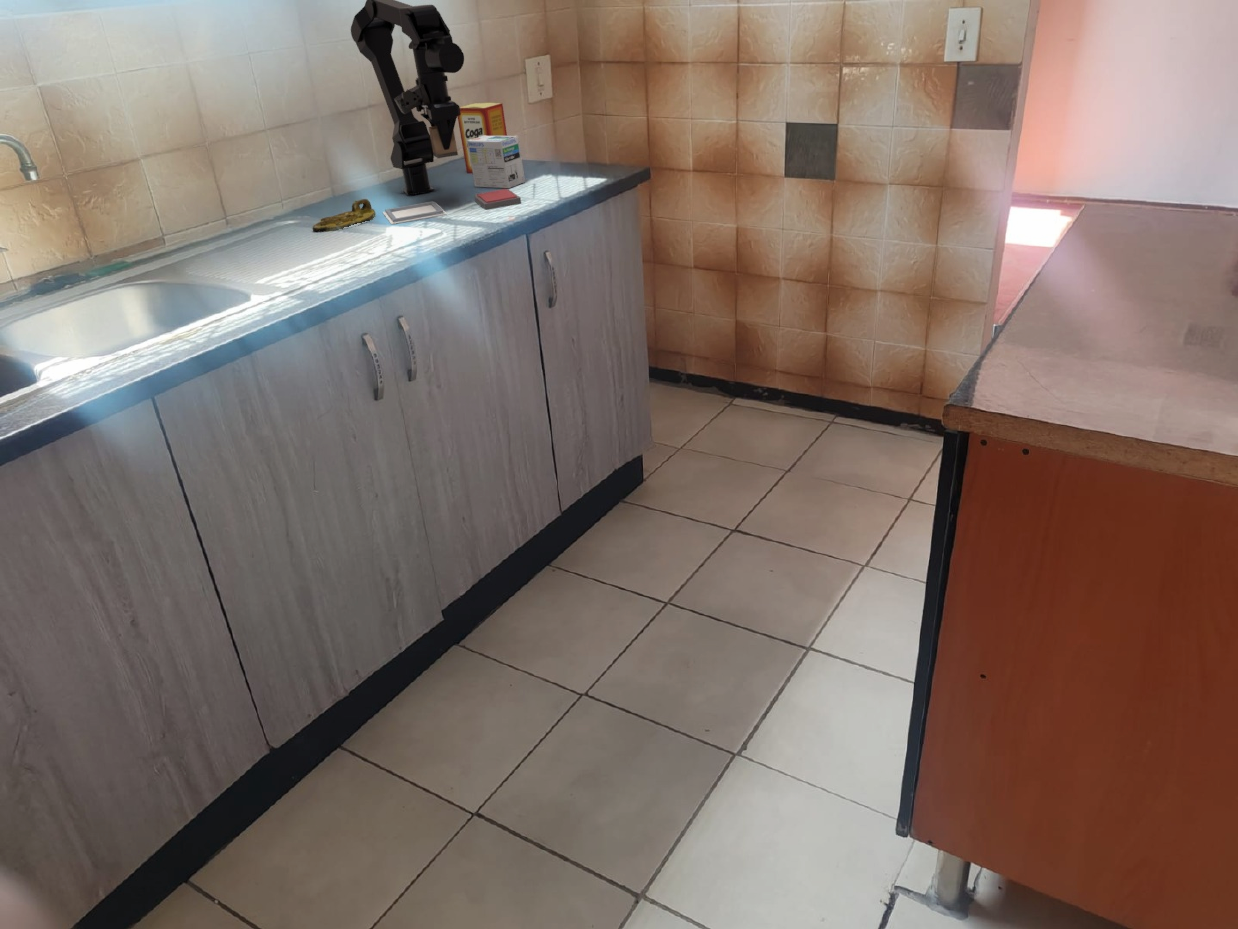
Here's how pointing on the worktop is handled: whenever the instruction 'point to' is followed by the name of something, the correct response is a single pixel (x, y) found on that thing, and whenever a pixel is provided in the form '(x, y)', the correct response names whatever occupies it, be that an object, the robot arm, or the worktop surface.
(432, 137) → the brown cardboard box
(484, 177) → the light bulb box
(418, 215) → the frame
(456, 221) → the worktop surface
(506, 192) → the ink pad
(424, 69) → the robot arm
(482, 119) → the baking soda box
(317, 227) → the seal
